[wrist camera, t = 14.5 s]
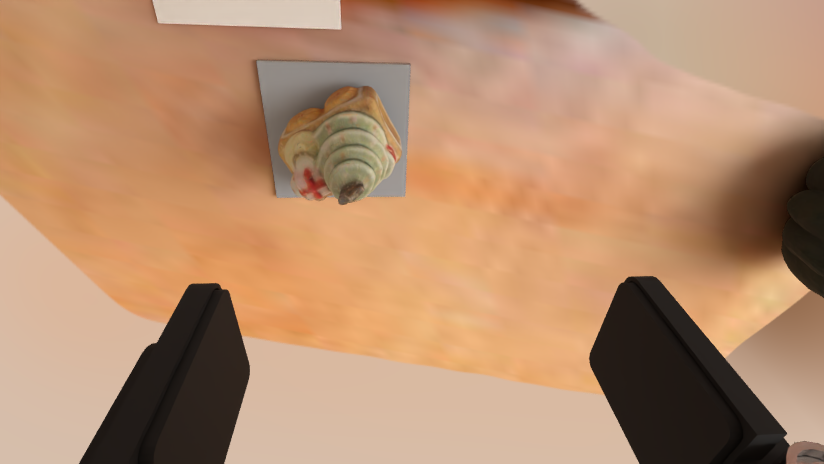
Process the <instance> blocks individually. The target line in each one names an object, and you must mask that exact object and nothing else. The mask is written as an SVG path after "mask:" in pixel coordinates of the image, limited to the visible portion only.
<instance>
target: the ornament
mask: <svg viewBox="0 0 824 464" xmlns="http://www.w3.org/2000/svg"><path fill="white" fill-rule="evenodd" d="M278 153H279V156H280V157H281V159H282V160H283V161H284V163H285V164H286V166H287V167H288V168H289V170H290V171H291V173H292V174H293V175H292V178H291V182H290V185H291V188H292V190H293V192H294V193H295V195H297V196H298V197H303V198H306V199H307V200H318V201H321V200H324V199H325V198H326V197H327V196H332V195H334V196H335V198H337V199H338V202H339V204H341V205H344V204H347V203H351V202H355V201H359V200H361V199H363V198H365V197H367V196H368V195H369V194H370V193H371V192H372V191H373V190H374V189H375V188H376V186H378V184H379V183H380V182H381V181H382V180H384V179H386V178H387V177H389V176H390V174H391V173H392V171H393V169H394V166H395V164H396V163H397V162H398V161H399V160H400V158H401V155H402V146H401V139H400V136H399V134H398V132H397V131H396V129H395V127H394V125H393V123H392V122H391V120H390V118H389V116H388V114H387V112H386V110H385V108H384V106H383V104H382V102H381V100H380V98H379V96H378V94H377V93H376V91H375V90H374V89H373V88H372V87H369V86H362V87H359V88H355V87H350V86H346V87H343V88H340V89H339V90H337V91H335V92H334V93H332V94H331V95H330V96H329V98H328V99H327V100H326V102H325V106H324V108H323V109H319V108H309V109H306V110H303V111H301V112H300V113H298V114H297V115H295V116H294V117H292V118H291V119H290V121H289V122H288V124H287V127H286V128H285V129H284V131H283V133H282V135H281V137H280V139H279V143H278Z"/></svg>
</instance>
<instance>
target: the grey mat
mask: <svg viewBox="0 0 824 464" xmlns="http://www.w3.org/2000/svg"><path fill="white" fill-rule="evenodd" d="M256 62H257V69H258V76H259V82H260V89H261V96H262V102H263V109H264V115H265V122H266V129H267V135H268V142H269V149H270V155H271V162H272V169H273V175H274V182H275V189H276V195H277V198H290V197H298V196H297V195H295V193H294V192H293V190H292V188H291V185H290V182H291V178H292V175H293V174H292V173H291V171H290V170H289V168H288V167H287V166H286V164H285V163H284V161H283V160H282V159H281V157H280V156H279V153H278V143H279V139H280V137H281V135H282V133H283V131H284V129H285V128H286V127H287V124H288V122H289V121H290V119H291V118H292V117H294V116H295V115H297V114H298V113H300V112H301V111H303V110H306V109H309V108H319V109H323V108H324V106H325V102H326V100H327V99H328V98H329V96H330V95H331V94H332V93H334V92H335V91H337V90H339V89H340V88H343V87H346V86H350V87H355V88H359V87H362V86H369V87H372V88H373V89H374V90H375V91H376V93H377V94H378V96H379V98H380V100H381V102H382V104H383V106H384V108H385V110H386V112H387V114H388V116H389V118H390V120H391V122H392V123H393V125H394V127H395V129H396V131H397V132H398V134H399V136H400V139H401V146H402V155H401V158H400V160H399V161H398V162H397V163H396V164H395V166H394V169H393V171H392V173H391V174H390V176H389V177H387V178H386V179H384V180H382V181H381V182H380V183H379V184H378V186H376V188H375V189H374V190H373V191H372V192H371V193H370V194H369V195H368V196H367V197H405V190H406V165H407V140H408V116H409V91H410V66H411V65H410V64H401V63H362V62H323V61H284V60H257V61H256ZM327 197H335V196H334V195H332V196H327Z"/></svg>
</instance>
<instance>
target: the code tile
mask: <svg viewBox="0 0 824 464" xmlns="http://www.w3.org/2000/svg"><path fill="white" fill-rule="evenodd" d="M152 1H153V5H154V9H155V12H156V16H157V20H158V23H166V24H195V25H224V26H254V27H283V28H313V29H341V7H340V0H152Z"/></svg>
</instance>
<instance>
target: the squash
mask: <svg viewBox="0 0 824 464" xmlns="http://www.w3.org/2000/svg"><path fill="white" fill-rule="evenodd" d="M806 184H807V187H808V188H809V190H805V191H801V192H799V193H797V194H795V195H794V196H793V197H791V199H790V200H789V201H788V203H787V211H788V213H789V215H790V216H791V218H790V219H789V220H788V221H787V223H786V224H785V227H784V229H783V232H782V238H783V241H782V249H781V250H782V254H783V258H784V261H785V262H786V264H787V266H788V268H789V269H790V271H791V272H792V273H793V274H794V275H795V276H796V277H797V278H798V279H799V280H800V281H801V282H802V283H803V284H804V285H805V286H806V287H807V288H808V289H810V290H812V291H813V292H815V293H817V294H819V295H820V296H822V297H823V298H824V157H823V158H821V159H820V160H818V161H817V162H815V163H814V164H813V165H812V166H811V167H810V169H809V171H808V173H807V177H806Z"/></svg>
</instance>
